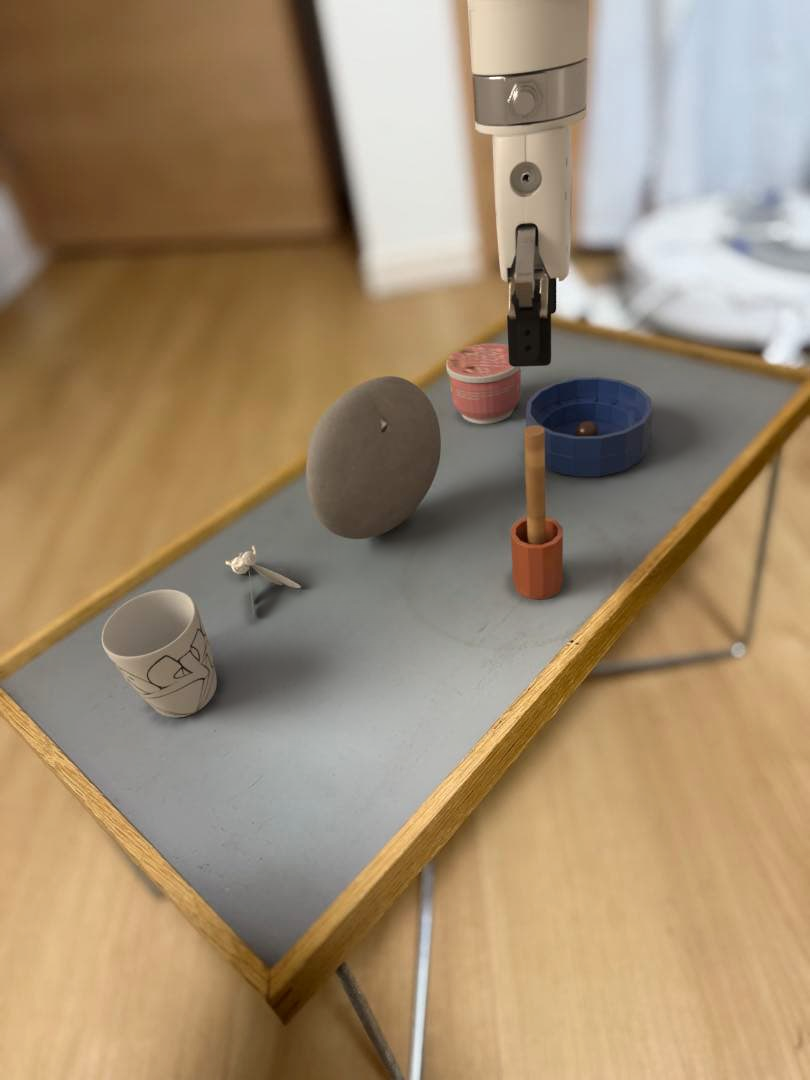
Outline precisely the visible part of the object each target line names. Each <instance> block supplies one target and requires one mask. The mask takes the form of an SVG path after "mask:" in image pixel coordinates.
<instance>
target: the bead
mask: <svg viewBox="0 0 810 1080" xmlns="http://www.w3.org/2000/svg"><path fill="white" fill-rule="evenodd" d="M575 436H599V428H598V426H597V425H596V424H595V423H594V422H591V421H584V422H582V423H580V424H579V425H578V426H577V428H576V430H575Z"/></svg>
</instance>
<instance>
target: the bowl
mask: <svg viewBox="0 0 810 1080" xmlns="http://www.w3.org/2000/svg"><path fill="white" fill-rule="evenodd" d="M653 413H654V410H653V403H652V398H651V396H650V395H648V394H647V393H646V392H645V391H644V390H643V389H642V388H641V387H639V386H637V385H634V384H632V383H630V382H628V381H624V380H623V379H622V380H621V379H616V378H608V377H604V376H603V377H602V376H587V377H586V376H585V377H574V378H569V379H565V380H564V379H563V380H560V381H556V382H553V383H551V384H548V385H547V386H544V387H543V388H541V389H539V390H536V392H535V393H534V394H533V395H532V396H531V397H530V398H529V399H528V400H527V401H526V409H525V428H527V427H528V426H532V425H538V426H541V427H543V428H544V430H545V469H547V470H549V471H551V472H555V473H559V474H562V475H563V474H564V475H568V476H572V477H603V476H606V475H611V474H615V473H619V472H624V471H626V470H627V469H629V468H630V467H632V466H635V465H636V464H637V463H639V462H640V461H642V460H643V458H644V456H645V455H646V453H648V450H649V449H650V446H651V445H650V444H651V443H650V442H651V434H652V423H653V422H652V421H653ZM584 421H591V422H594V423H595V424H596V425H597V426H598V428H599V436H575V430H576V428H577V426H578V425H579V424H580V423H582V422H584Z"/></svg>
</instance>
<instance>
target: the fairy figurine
mask: <svg viewBox="0 0 810 1080" xmlns="http://www.w3.org/2000/svg"><path fill="white" fill-rule="evenodd" d="M250 548H251V549H252V550H253V551H251V550H250V551H248V550H247V551H245V552H240V553H239V554H238V556H237V557H235V558H233V559H232V558H231V559H230V560H225V564H226V566H230V567H231V569H232V572H234V573H235V574H237V575H243V574H246V573H247V572H248V573H249V574H248V575H249V577H251V574H250V573H251V572H250V571H249V570H250V567H251V568H253V569H254V570H255V572H257V573H258V574H259V575H260V576H262V577H263V578H264V579H266V580H268V581H270V582H271V583H274V584H276V585H279V586H282V587H283V586H284V585H285V586H287V587H290V588H295V589H301V588H302V586H301V584H298V583H297V582H296V581H294V580H291V579H290V578H288V577H286V576H285V575H282V574H280V573H277V572H275V571H273V570H270V569H268V568H266V567H263V566H261V565H259V564H256V562H257V559H258V558H257V548H256V547H255V546H254V545H252V546H251V547H250ZM249 584H250V585H249V586H250V587H252V581H251V579H249ZM250 595H251V596H253V590H252V588H250ZM251 603H252V604H251V605H254V600H253V598H251ZM252 612H253V614H252V615H255V611H254V608H252Z"/></svg>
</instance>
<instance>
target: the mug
mask: <svg viewBox="0 0 810 1080" xmlns="http://www.w3.org/2000/svg"><path fill="white" fill-rule="evenodd" d="M101 644H102V647H103V649H104V651H105V653H106V654H107V656H108V657H109V659H110V660H111V661H112V663H113V664H114V665H115V667H116V668H117V669H118V671H119V672H120V673H121V675H122V676H123V678H124V679H125V680H126V681H127V682H128V684H129V685H130V686H131V687H132V688H133V689H134V690H135V692H136V693H138V694H139V695H140V696H141V697H142V699H144V700H145V702H146V703H148V704H149V705H150V706H151V707H152V708H153V709H154V710H155V711H156V712H157V713H158V714H160V715H161V716H164V717H166V718H172V719H173V718H174V719H179V718H185V717H187V716H190V715H193V714H195V713H197V712H199V711H200V710H202V709H203V708H204V707H205V706H207V704H209V702H210V701H211V700H212V698H213V696H214V695H215V692H216V690H217V685H218V679H217V672H216V668H215V663H214V658H213V654H212V649H211V645H210V641H209V637H208V635H207V632H206V629H205V626H204V623H203V621H202V618H201V615H200V612H199V610H198V607H197V604H196V603H195V602H194V599H192V598H191V597H190V596H189V595H188V594H186V593H185V592H183V591H181V590H177V589H168V588H167V589H156V590H152V591H149V592H148V591H147V592H145V593H142V594H140V595H138V596H135V597H133V598H131V599H130V600H128V601H126V602H125V603H124V604H122V605H121V606H119V607H118V608H117V609H116V610H115V611H114V612H113V613H112V614H111V615H110V616H109V618H108V619H107V620H106V622H105V624H104V626H103V628H102V633H101Z"/></svg>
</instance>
